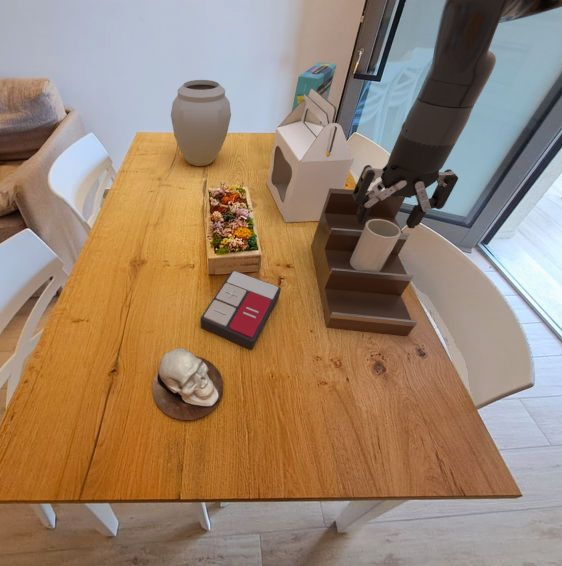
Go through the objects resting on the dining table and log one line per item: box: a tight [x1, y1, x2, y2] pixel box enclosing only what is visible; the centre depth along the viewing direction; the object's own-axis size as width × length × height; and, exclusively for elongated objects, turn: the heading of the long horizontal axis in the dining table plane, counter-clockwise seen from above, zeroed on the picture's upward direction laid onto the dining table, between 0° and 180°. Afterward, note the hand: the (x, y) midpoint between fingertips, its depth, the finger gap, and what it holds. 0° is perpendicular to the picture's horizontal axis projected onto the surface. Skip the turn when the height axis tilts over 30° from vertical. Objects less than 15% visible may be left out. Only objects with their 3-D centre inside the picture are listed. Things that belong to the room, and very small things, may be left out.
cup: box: [350, 219, 402, 272], centre depth 65 cm, size 6×6×9 cm
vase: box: [170, 79, 232, 167], centre depth 110 cm, size 20×20×24 cm
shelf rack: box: [310, 188, 418, 337], centre depth 68 cm, size 26×15×16 cm, turn 171°
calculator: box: [200, 270, 282, 351], centre depth 67 cm, size 11×4×15 cm
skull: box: [151, 347, 224, 421], centre depth 55 cm, size 12×10×10 cm
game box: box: [291, 61, 337, 125], centre depth 111 cm, size 20×6×27 cm, turn 148°
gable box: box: [266, 89, 355, 223], centre depth 89 cm, size 22×13×28 cm, turn 4°
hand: (384, 224), depth 61 cm, fingers open, 8 cm apart
